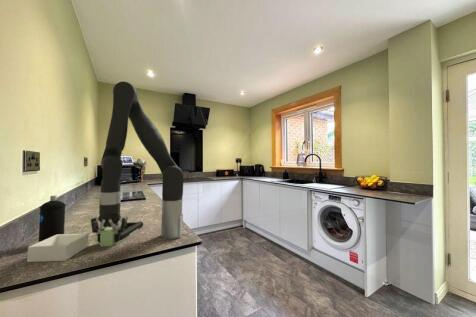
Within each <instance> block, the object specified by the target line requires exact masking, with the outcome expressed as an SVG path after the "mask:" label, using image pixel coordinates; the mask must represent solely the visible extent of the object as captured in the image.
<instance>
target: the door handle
mask: <svg viewBox="0 0 476 317" xmlns="http://www.w3.org/2000/svg"><path fill="white" fill-rule="evenodd" d="M143 226H144V222H143V221H141V220H140V221H138V222H135V221H134V222H127V224H126V229H125V230H124V231H123V232H121V234H120V240H122V239H125V238H127V236H131V235H132V234H134V233H135V232H137V231H138V230H139V229H140V228H142V227H143ZM120 228H121V226H120Z"/></svg>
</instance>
